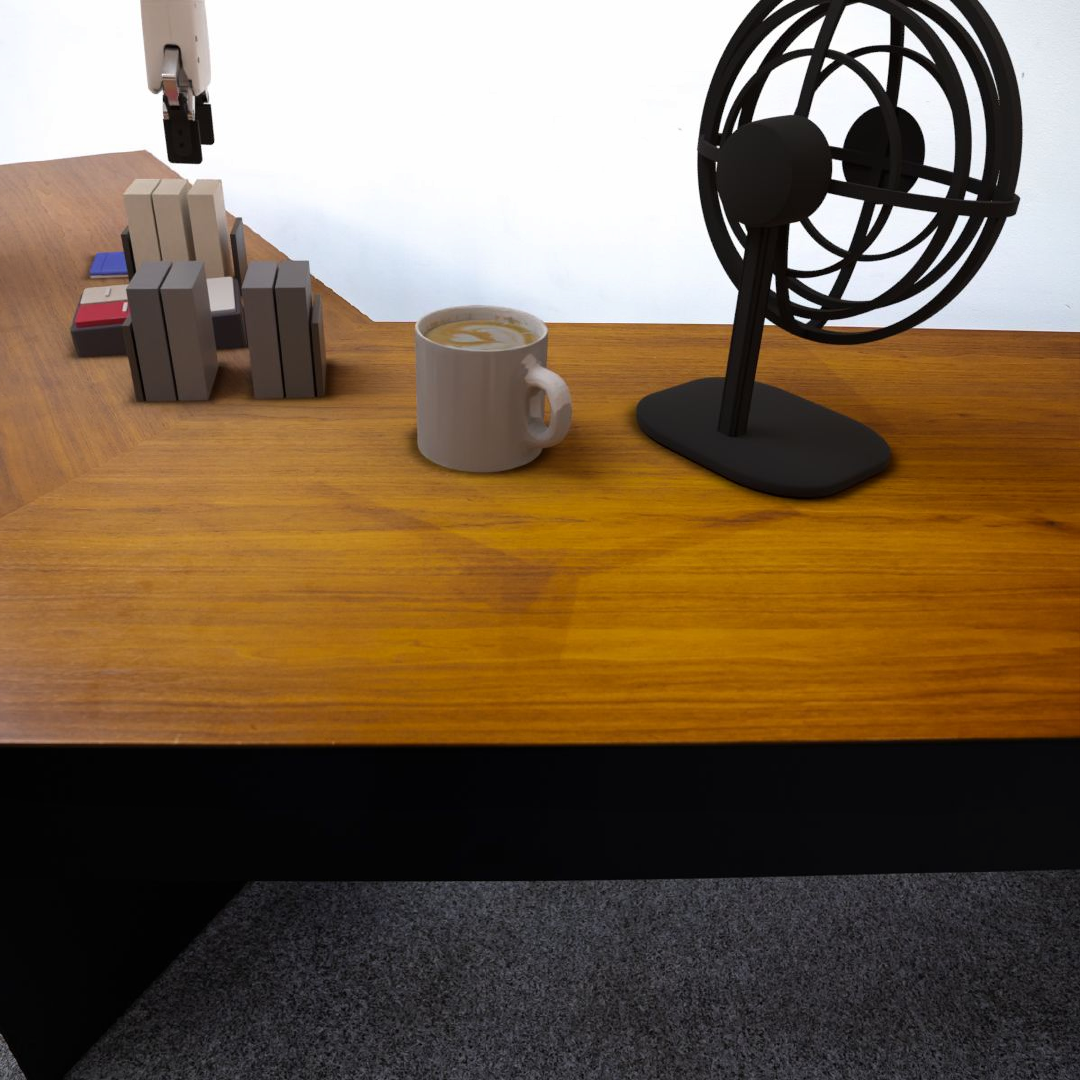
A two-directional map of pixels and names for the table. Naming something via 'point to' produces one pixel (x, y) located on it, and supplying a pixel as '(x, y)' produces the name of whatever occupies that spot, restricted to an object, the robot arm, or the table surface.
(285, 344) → the grey books
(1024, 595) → the table surface
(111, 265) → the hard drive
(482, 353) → the coffee mug
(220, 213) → the white book
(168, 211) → the white books
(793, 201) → the desk fan
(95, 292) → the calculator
